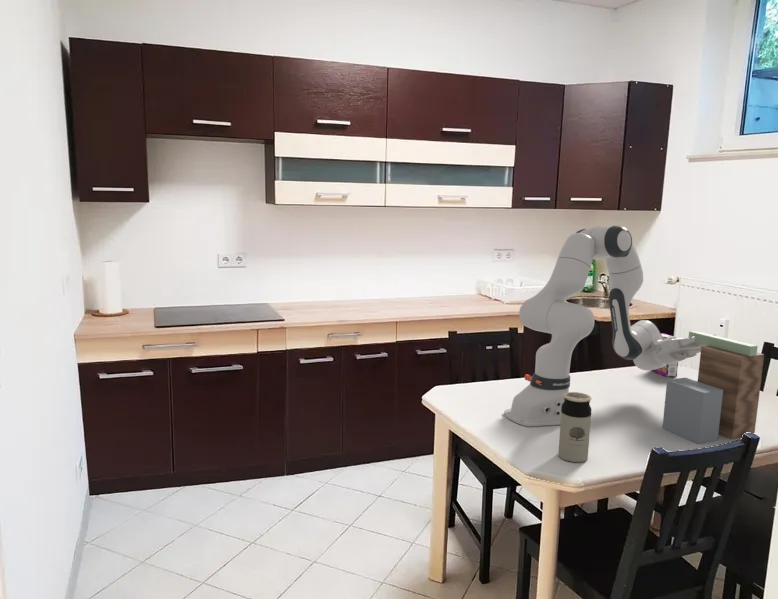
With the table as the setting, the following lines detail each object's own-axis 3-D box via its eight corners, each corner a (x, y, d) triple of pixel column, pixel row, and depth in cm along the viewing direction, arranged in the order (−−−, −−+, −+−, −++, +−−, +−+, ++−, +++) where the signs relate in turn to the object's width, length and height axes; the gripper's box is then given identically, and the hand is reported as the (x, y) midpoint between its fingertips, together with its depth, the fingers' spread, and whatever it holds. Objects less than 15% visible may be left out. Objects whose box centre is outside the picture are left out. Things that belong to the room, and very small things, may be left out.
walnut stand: (731, 439, 181) (741, 357, 177) (693, 423, 194) (701, 346, 190) (754, 434, 185) (764, 354, 181) (714, 419, 198) (723, 344, 194)
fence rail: (749, 356, 179) (750, 346, 178) (688, 340, 199) (689, 331, 198) (756, 355, 180) (757, 345, 179) (694, 339, 200) (695, 330, 199)
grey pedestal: (698, 444, 177) (704, 392, 175) (662, 428, 190) (667, 380, 187) (717, 440, 180) (723, 390, 178) (680, 424, 193) (685, 377, 190)
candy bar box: (677, 377, 246) (681, 338, 244) (666, 377, 246) (670, 339, 243) (660, 369, 257) (664, 332, 255) (650, 369, 256) (653, 333, 254)
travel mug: (559, 449, 172) (564, 390, 169) (588, 454, 169) (593, 393, 166) (556, 460, 165) (560, 398, 162) (586, 465, 162) (591, 402, 159)
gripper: (647, 343, 203) (678, 330, 191) (690, 339, 211) (723, 326, 199) (653, 361, 201) (685, 349, 189) (696, 356, 209) (729, 344, 197)
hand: (705, 337), depth 194 cm, fingers open, 8 cm apart
